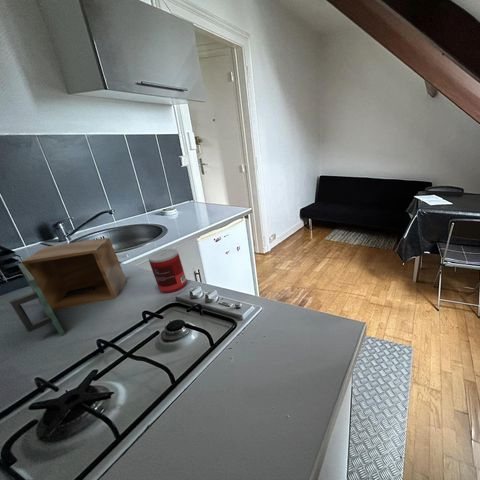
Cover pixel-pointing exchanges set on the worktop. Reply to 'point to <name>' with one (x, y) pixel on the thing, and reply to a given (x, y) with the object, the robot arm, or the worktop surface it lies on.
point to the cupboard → (77, 272)
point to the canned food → (167, 270)
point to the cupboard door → (42, 300)
